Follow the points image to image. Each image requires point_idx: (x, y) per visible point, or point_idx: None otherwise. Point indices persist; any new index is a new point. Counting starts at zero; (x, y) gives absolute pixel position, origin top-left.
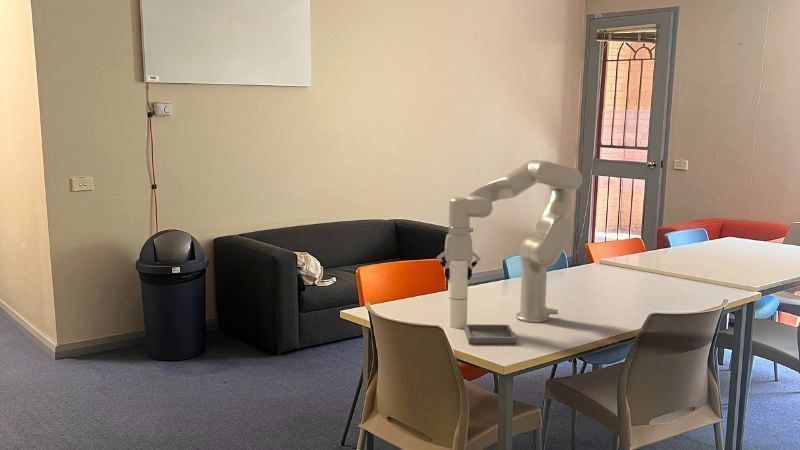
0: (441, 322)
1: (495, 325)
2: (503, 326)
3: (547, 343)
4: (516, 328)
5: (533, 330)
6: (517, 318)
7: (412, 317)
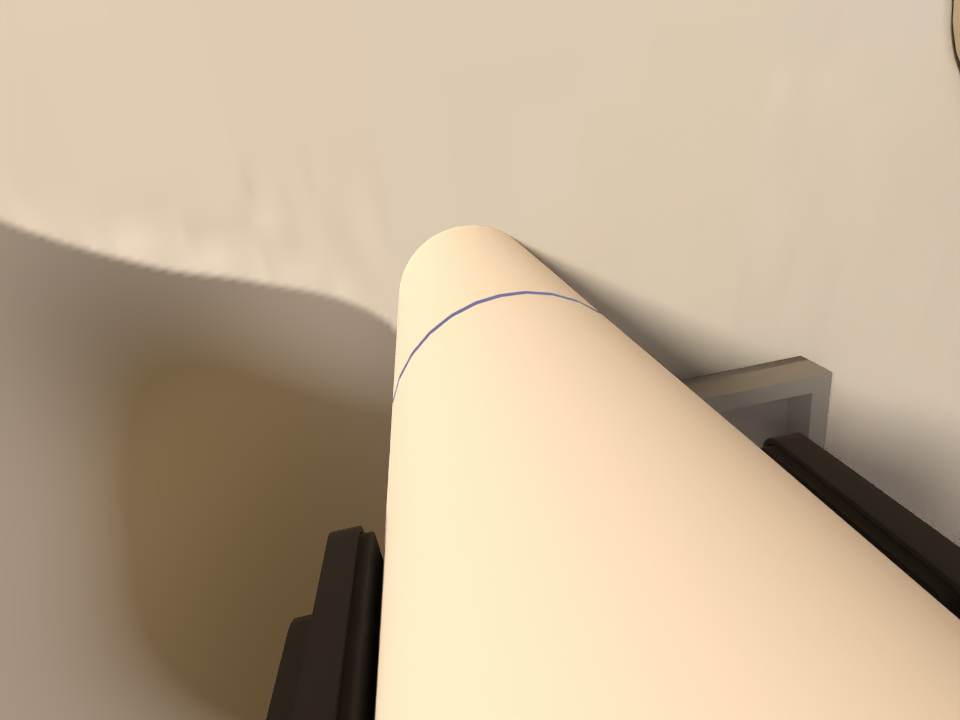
0: (339, 240)
1: (742, 406)
2: (789, 392)
3: (938, 514)
4: (865, 286)
5: (954, 309)
6: (953, 25)
7: (31, 122)
